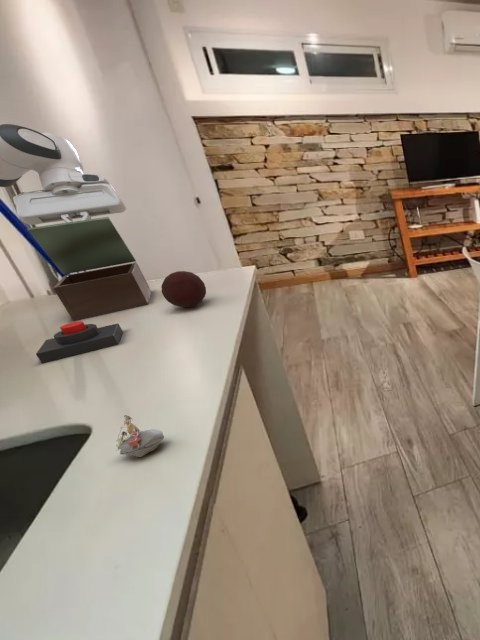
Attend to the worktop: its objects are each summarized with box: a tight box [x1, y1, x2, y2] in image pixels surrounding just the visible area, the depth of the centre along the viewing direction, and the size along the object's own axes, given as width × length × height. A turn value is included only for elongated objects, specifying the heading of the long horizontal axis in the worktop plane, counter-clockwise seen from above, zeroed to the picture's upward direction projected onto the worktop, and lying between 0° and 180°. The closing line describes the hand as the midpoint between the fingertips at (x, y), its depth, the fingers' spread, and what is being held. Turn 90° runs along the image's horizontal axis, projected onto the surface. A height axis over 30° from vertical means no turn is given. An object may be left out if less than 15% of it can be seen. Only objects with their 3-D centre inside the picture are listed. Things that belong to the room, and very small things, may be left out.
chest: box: [52, 261, 153, 322], centre depth 126 cm, size 14×15×9 cm
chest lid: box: [26, 216, 137, 276], centre depth 124 cm, size 15×15×1 cm
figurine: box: [115, 414, 165, 458], centre depth 67 cm, size 5×4×6 cm
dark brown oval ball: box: [161, 270, 207, 308], centre depth 121 cm, size 9×12×9 cm
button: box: [59, 320, 87, 335], centre depth 102 cm, size 4×4×2 cm
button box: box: [35, 322, 124, 364], centre depth 103 cm, size 12×9×4 cm
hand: (80, 229), depth 125 cm, fingers closed
